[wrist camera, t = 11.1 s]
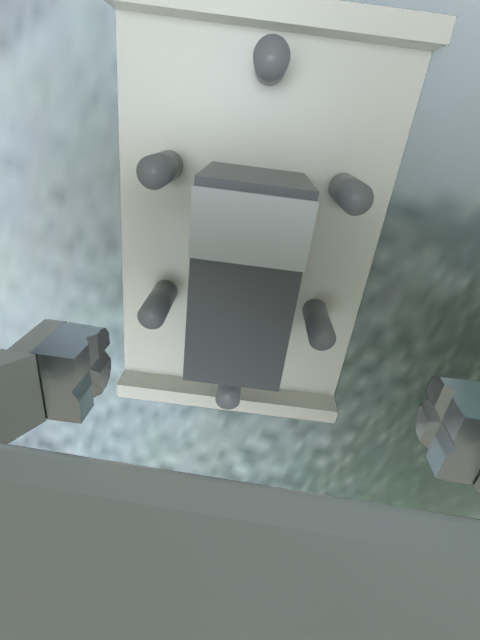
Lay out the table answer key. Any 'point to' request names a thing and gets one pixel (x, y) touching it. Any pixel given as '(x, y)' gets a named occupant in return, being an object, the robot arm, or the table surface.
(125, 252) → the peg board
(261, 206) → the block
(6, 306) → the table surface
